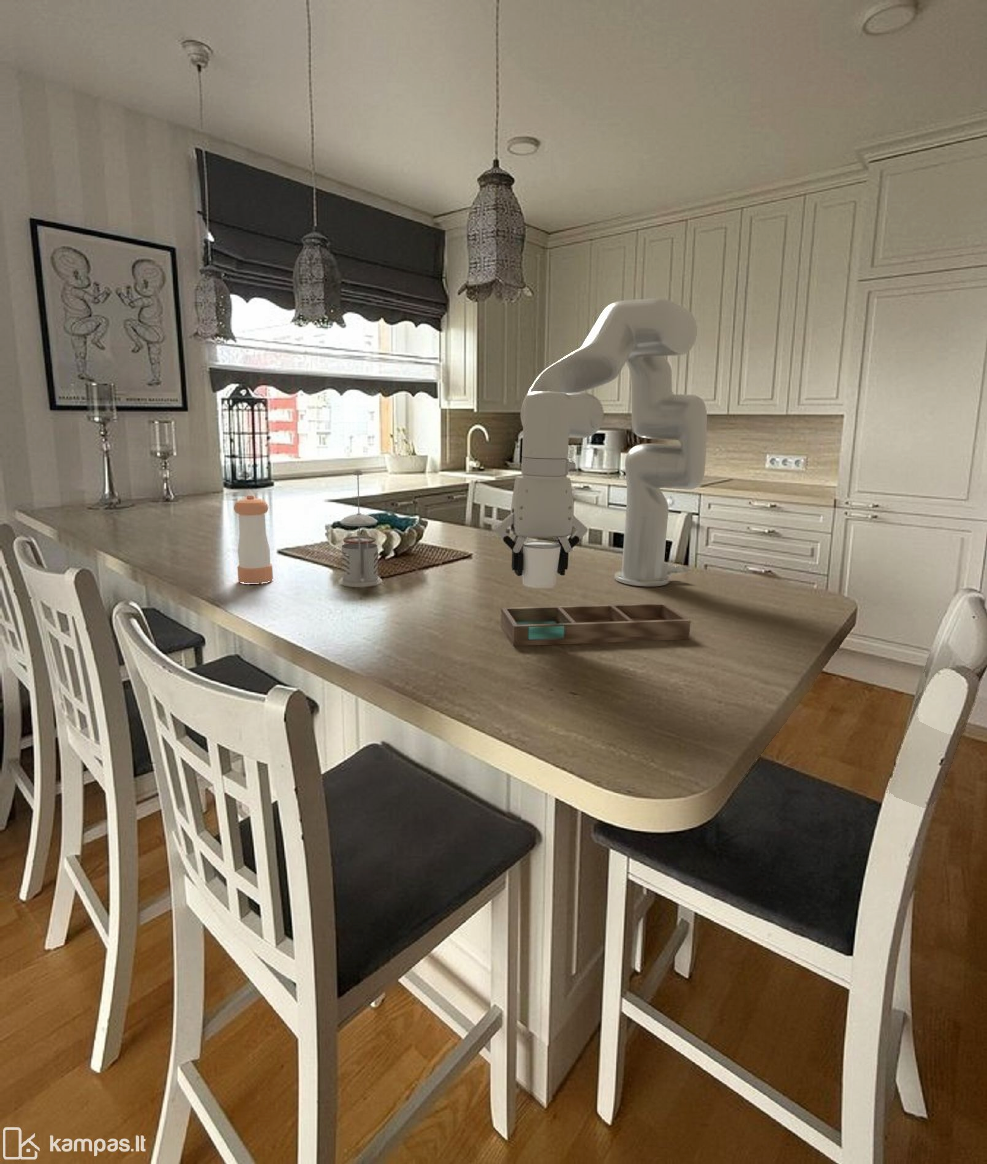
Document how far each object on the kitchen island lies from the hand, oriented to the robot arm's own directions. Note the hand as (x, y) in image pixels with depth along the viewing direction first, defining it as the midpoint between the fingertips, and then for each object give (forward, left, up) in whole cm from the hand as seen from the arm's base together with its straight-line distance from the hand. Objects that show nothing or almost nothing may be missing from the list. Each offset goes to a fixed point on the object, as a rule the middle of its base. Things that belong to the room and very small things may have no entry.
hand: (539, 573), depth 115 cm
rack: (-10, 0, -11) cm, 15 cm away
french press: (+31, -40, -11) cm, 52 cm away
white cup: (0, 0, -2) cm, 2 cm away
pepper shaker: (+54, -43, -11) cm, 70 cm away
